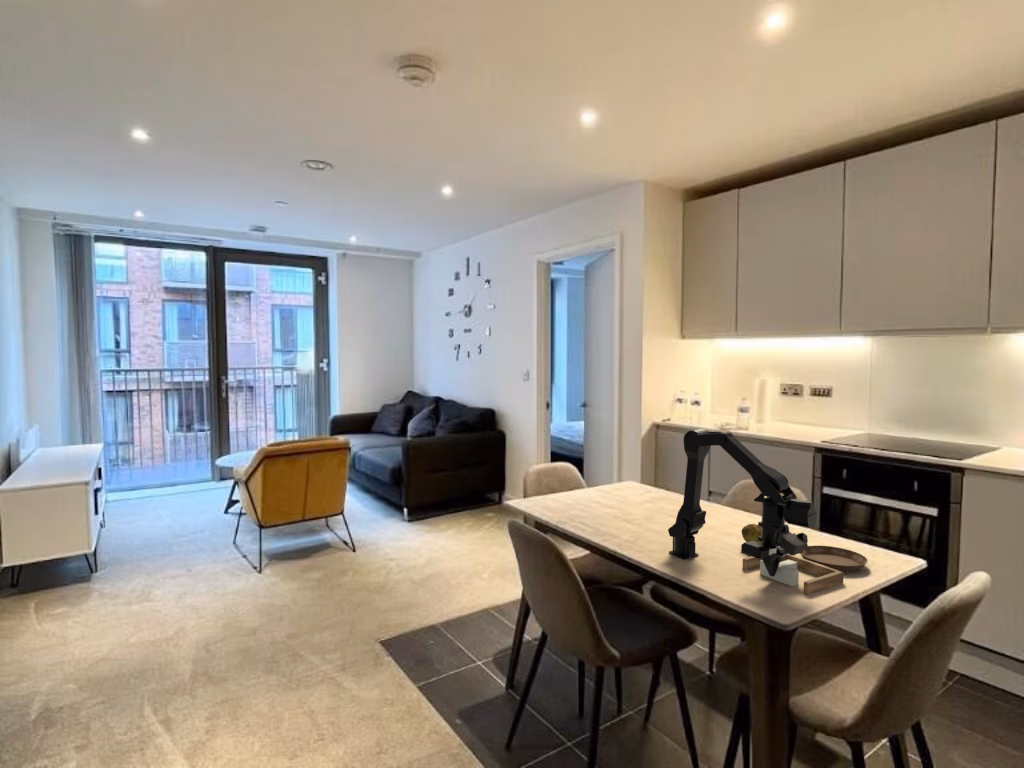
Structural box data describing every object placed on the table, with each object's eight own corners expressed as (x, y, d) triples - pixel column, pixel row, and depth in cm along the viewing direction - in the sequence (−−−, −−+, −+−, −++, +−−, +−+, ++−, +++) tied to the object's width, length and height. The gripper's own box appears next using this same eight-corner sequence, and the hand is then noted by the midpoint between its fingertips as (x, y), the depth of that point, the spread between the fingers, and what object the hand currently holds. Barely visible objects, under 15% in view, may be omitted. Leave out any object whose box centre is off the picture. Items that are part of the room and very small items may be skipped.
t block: (760, 574, 162) (760, 560, 161) (776, 569, 165) (777, 555, 165) (792, 586, 153) (792, 571, 153) (809, 580, 157) (809, 566, 157)
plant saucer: (806, 550, 182) (806, 540, 182) (871, 562, 171) (871, 552, 170) (792, 566, 168) (792, 556, 168) (862, 581, 157) (862, 570, 157)
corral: (742, 568, 166) (742, 558, 166) (777, 559, 173) (777, 549, 173) (807, 594, 148) (807, 583, 148) (843, 583, 155) (843, 572, 155)
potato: (776, 560, 172) (777, 534, 172) (737, 548, 183) (737, 524, 182) (790, 554, 178) (790, 528, 177) (751, 543, 188) (751, 519, 187)
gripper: (776, 533, 144) (775, 593, 145) (822, 522, 153) (821, 579, 154) (740, 521, 154) (739, 578, 155) (785, 512, 163) (784, 566, 164)
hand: (772, 575), depth 156 cm, fingers closed
